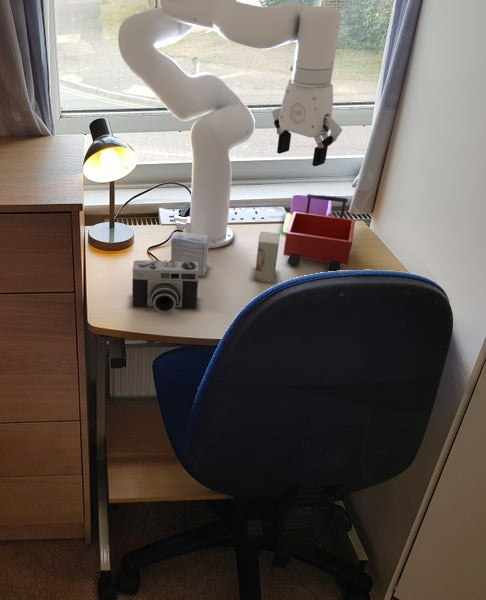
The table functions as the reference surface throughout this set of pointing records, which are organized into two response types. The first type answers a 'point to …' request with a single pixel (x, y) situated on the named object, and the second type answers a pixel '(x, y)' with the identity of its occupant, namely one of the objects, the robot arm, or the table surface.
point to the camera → (165, 285)
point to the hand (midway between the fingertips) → (300, 158)
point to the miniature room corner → (301, 205)
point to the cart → (319, 236)
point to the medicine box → (190, 249)
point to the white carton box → (267, 256)
